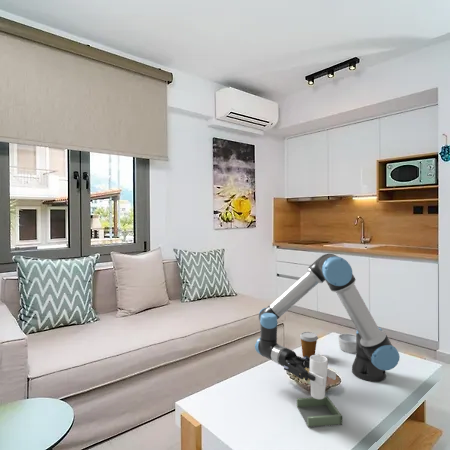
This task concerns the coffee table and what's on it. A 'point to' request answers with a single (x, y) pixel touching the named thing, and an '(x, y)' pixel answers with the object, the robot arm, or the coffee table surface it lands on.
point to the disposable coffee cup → (308, 343)
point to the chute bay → (319, 412)
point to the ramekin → (347, 342)
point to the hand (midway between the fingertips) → (329, 379)
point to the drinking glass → (320, 368)
